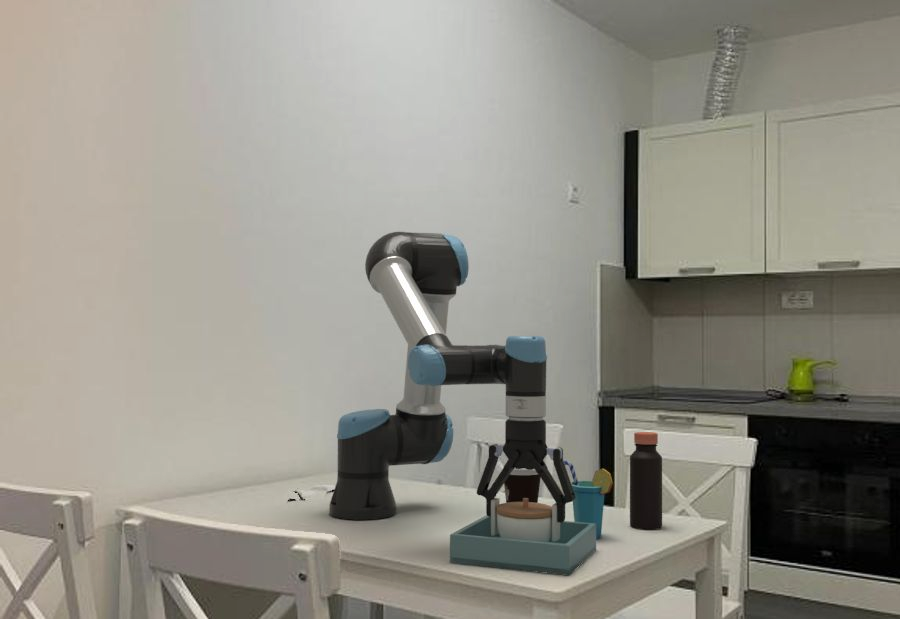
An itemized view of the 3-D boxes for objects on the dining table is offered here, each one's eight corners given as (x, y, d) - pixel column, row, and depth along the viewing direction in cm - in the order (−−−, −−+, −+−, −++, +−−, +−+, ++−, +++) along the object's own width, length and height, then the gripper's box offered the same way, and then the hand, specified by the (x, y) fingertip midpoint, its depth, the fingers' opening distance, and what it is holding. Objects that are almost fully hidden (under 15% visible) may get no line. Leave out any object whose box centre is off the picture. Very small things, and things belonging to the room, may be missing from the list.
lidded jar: (537, 559, 160) (538, 506, 161) (485, 550, 166) (486, 499, 166) (563, 547, 170) (564, 497, 170) (512, 539, 175) (513, 491, 175)
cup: (545, 534, 186) (545, 461, 186) (563, 528, 192) (564, 457, 193) (606, 544, 178) (606, 467, 178) (624, 537, 184) (624, 463, 184)
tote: (449, 562, 163) (450, 534, 163) (487, 539, 181) (487, 514, 181) (569, 575, 154) (569, 546, 154) (596, 549, 173) (596, 523, 173)
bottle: (667, 529, 191) (667, 434, 192) (636, 530, 190) (636, 435, 191) (654, 523, 198) (654, 431, 199) (625, 523, 197) (625, 431, 197)
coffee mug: (538, 521, 199) (539, 475, 199) (500, 519, 201) (500, 474, 201) (544, 511, 210) (544, 468, 211) (507, 509, 212) (507, 466, 212)
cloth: (326, 486, 247) (326, 478, 247) (364, 491, 239) (365, 483, 239) (255, 500, 226) (255, 491, 226) (295, 506, 218) (295, 497, 218)
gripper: (459, 417, 169) (458, 535, 169) (582, 423, 161) (582, 547, 160) (473, 414, 176) (473, 527, 176) (592, 419, 167) (592, 538, 167)
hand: (525, 537), depth 168 cm, fingers open, 11 cm apart
